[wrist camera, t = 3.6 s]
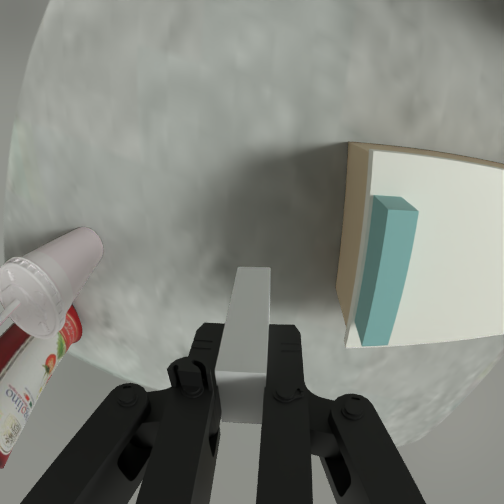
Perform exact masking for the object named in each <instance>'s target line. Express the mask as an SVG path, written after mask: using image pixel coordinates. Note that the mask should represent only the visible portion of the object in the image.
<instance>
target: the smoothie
mask: <svg viewBox="0 0 504 504" xmlns="http://www.w3.org/2000/svg"><path fill="white" fill-rule="evenodd" d="M103 251H104V250H103V244H102V241H101V239H100V237H99V236H98V235H97V234H96V233H95V232H94V231H93V230H91V229H90V228H87V227H79V228H77V229H75V230H73V231H71V232H69V233H67V234H65V235H63V236H61V237H59V238H57V239H55V240H53V241H51V242H49V243H47V244H45V245H43V246H41V247H39V248H37V249H35V250H33V251H31V252H29V253H27V254H26V255H24V256H22V257H12V258H10V259H8V260H7V261H6V263H4V264H3V265H2V266H1V267H0V302H1V304H2V306H3V308H4V309H5V310H4V311H3V312H2V313H1V314H0V326H1V324H2V323H3V322H4V321H5V320H6V319H7V318H8V317H10V318H11V319H12V320H13V322H14V323H15V324H16V325H17V326H18V327H20V328H21V329H22V330H23V331H25V332H26V333H28V334H29V335H31V336H34V337H36V338H40V339H50V338H52V337H54V336H55V335H56V334H57V332H58V331H59V330H61V329H62V328H63V326H64V324H65V319H66V313H67V311H68V310H69V308H70V307H71V305H72V303H73V301H74V300H75V298H76V297H77V295H78V293H79V292H80V290H81V289H82V287H83V285H84V284H85V282H86V281H87V279H88V278H89V276H90V275H91V273H92V272H93V270H94V269H95V267H96V266H97V264H98V263H99V261H100V260H101V258H102V256H103Z"/></svg>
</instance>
